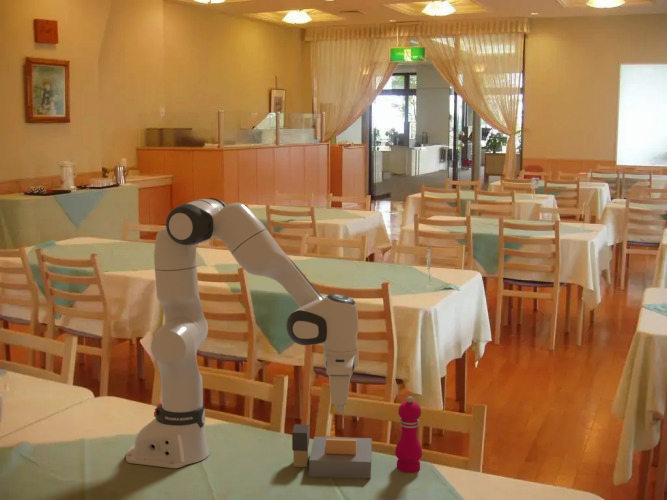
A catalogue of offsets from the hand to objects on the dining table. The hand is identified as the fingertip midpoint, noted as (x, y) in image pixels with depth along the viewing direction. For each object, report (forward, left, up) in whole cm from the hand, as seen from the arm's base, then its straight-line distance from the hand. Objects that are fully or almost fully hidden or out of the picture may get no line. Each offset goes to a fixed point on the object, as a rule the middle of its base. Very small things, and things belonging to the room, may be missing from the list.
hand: (341, 410), depth 207 cm
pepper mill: (+18, +9, -19) cm, 27 cm away
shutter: (0, +9, -14) cm, 17 cm away
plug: (-11, +9, -19) cm, 24 cm away
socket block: (0, +9, -19) cm, 21 cm away
